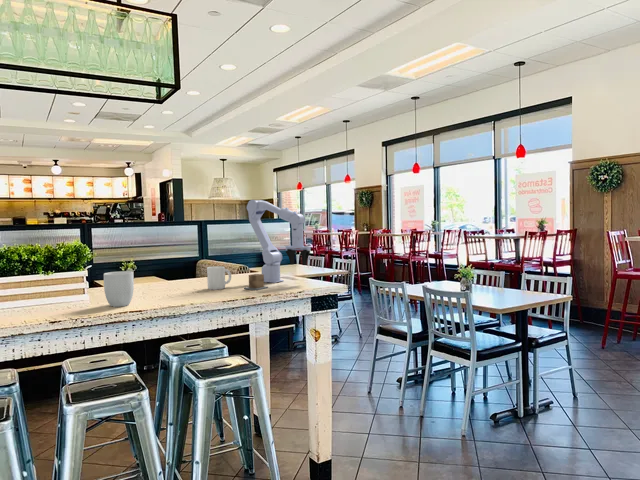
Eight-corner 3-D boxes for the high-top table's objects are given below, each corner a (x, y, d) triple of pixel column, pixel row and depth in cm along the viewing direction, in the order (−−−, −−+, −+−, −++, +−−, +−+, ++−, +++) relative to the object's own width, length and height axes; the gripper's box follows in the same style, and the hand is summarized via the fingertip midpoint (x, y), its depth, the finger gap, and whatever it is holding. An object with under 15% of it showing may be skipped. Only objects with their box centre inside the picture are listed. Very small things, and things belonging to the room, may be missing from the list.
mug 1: (113, 301, 202) (111, 270, 201) (140, 300, 203) (139, 269, 202) (100, 308, 187) (99, 274, 186) (130, 307, 188) (128, 274, 187)
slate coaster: (244, 289, 229) (244, 287, 229) (255, 286, 236) (255, 285, 236) (256, 290, 225) (256, 289, 225) (268, 287, 231) (268, 286, 231)
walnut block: (249, 287, 230) (248, 274, 229) (256, 286, 234) (255, 273, 233) (256, 288, 227) (256, 275, 226) (264, 286, 231) (263, 274, 231)
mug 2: (228, 285, 241) (227, 265, 240) (235, 287, 234) (234, 266, 234) (205, 288, 234) (204, 267, 234) (211, 290, 227) (211, 268, 227)
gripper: (281, 237, 245) (282, 264, 246) (304, 238, 237) (305, 265, 238) (290, 237, 251) (290, 263, 252) (312, 237, 243) (313, 264, 244)
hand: (298, 264), depth 245 cm, fingers open, 7 cm apart
